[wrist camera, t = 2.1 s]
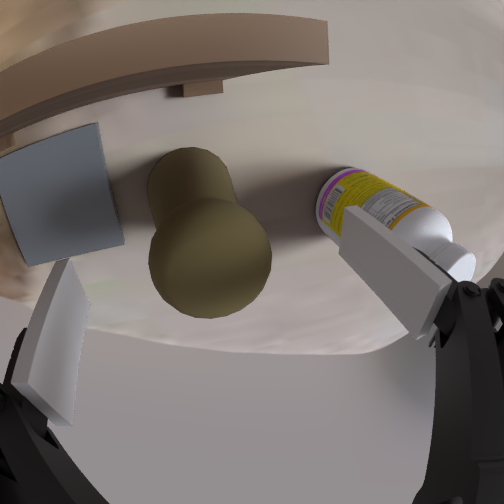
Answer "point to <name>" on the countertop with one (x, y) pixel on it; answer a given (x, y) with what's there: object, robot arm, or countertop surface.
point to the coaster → (60, 197)
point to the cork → (203, 237)
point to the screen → (155, 62)
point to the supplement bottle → (393, 218)
